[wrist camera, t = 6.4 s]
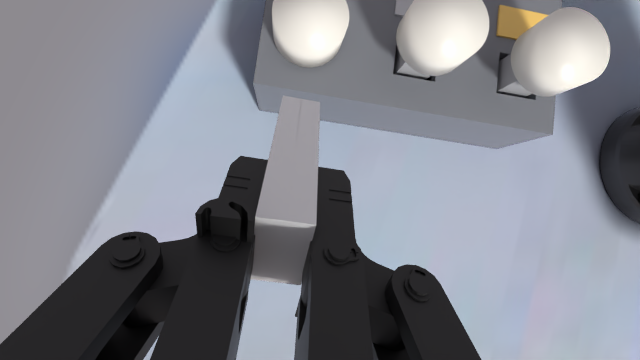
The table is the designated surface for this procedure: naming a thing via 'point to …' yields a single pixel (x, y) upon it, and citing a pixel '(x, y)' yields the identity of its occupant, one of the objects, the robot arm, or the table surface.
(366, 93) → the console
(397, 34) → the button middle
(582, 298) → the table surface
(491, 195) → the table surface
